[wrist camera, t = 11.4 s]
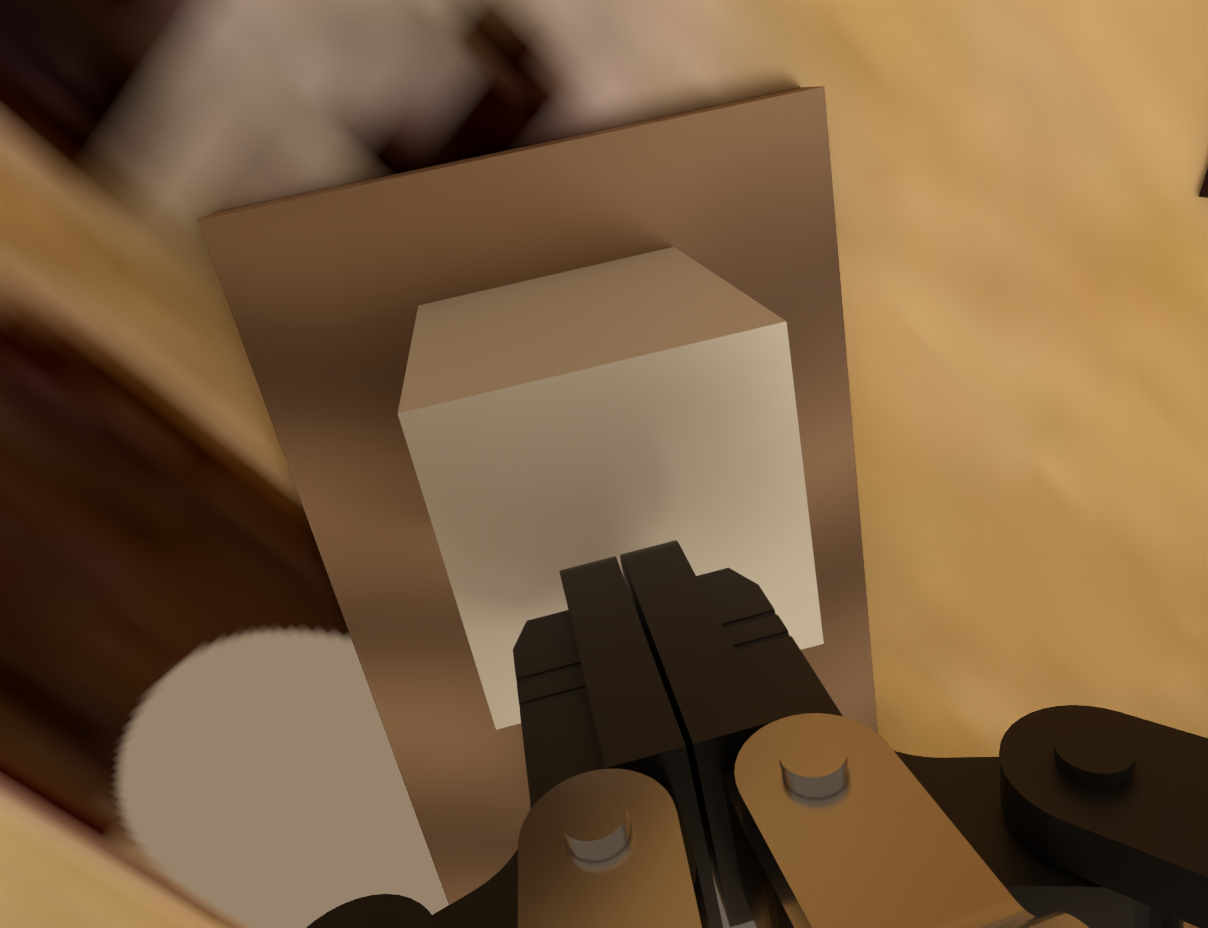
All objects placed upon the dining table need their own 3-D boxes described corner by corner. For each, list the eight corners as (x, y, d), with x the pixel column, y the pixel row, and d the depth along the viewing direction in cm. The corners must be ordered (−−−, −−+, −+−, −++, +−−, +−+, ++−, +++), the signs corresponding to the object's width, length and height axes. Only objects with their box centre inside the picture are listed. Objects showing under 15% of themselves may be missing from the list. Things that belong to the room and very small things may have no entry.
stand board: (214, 212, 17) (198, 219, 16) (801, 87, 18) (824, 86, 17) (468, 922, 25) (469, 959, 24) (868, 813, 26) (887, 844, 25)
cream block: (674, 246, 18) (786, 321, 12) (711, 478, 20) (824, 643, 14) (418, 305, 17) (397, 413, 11) (483, 535, 19) (496, 729, 13)
